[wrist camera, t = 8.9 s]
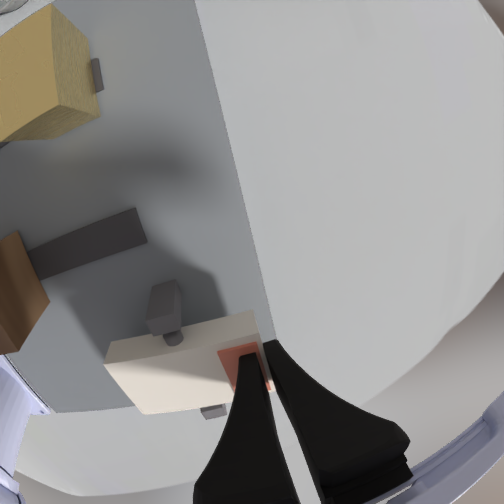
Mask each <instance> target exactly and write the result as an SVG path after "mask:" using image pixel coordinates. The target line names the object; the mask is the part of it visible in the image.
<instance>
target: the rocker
mask: <svg viewBox="0 0 504 504" xmlns="http://www.w3.org/2000/svg"><path fill="white" fill-rule="evenodd" d="M253 352H256V355H257V358H258V361H259V364H260V367H261V370H262V374H263V377H264V380H265V383H266V386H267V389H268V392H269V393H271V392H275V391H276V389H275V386H274V383H273V380H272V376H271V373H270V370H269V366H268V363H267V359H266V356H265V352H264V349H263V344H262V340H261V336H260V333H259V329H258V326H257V322H256V319H255V315H254V311H253V309H252V310H248V311H245V312H241V313H237V314H233V315H229V316H226V317H222V318H218V319H214V320H210V321H205V322H201V323H197V324H193V325H189V326H184V327H181V330H177V331H174V332H170V333H166V334H162V335H158V336H154V337H153V335H152V334H148V335H143V336H138V337H133V338H128V339H122V340H117V341H112V342H111V344H110V346H109V349H108V352H107V355H106V357H105V360H104V363H103V365H104V367H105V368H106V369H107V371H108V372H109V373H110V375H111V376H112V377H113V379H114V380H115V381H116V382H117V384H118V385H119V386H120V387H121V389H122V390H123V391H124V392H125V394H126V395H127V396H128V397H129V398H130V400H131V401H132V402H133V403H134V404H135V405H136V407H137V408H138V409H139V410H140V411H141V412H142V413H143V414H144V415H147V414H158V413H167V412H175V411H182V410H189V409H196V408H202V407H208V406H213V405H219V404H224V403H229V402H233V397H234V393H235V388H236V382H237V375H238V362H239V357H240V356H242V355H246V354H250V353H253Z"/></svg>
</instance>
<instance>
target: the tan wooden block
mask: <svg viewBox="0 0 504 504" xmlns="http://www.w3.org/2000/svg"><path fill="white" fill-rule="evenodd" d="M99 117H101V114H100V109H99V104H98V99H97V94H96V89H95V84H94V78H93V72H92V66H91V59H90V51H89V43H88V38H87V37H86V36H85V35H84V34H83V33H82V32H81V31H80V30H79V29H78V28H77V27H76V26H75V25H73V24H72V23H71V22H70V21H69V20H68V19H67V18H66V17H65V16H64V15H63V14H62V13H61V12H60V11H59V10H58V9H57V8H56V7H55V6H54V5H53V4H52V3H51V4H49V5H47V6H46V7H44V8H42V9H41V10H39V11H37V12H36V13H34V14H33V15H31V16H29V17H28V18H26V19H25V20H23V21H22V22H20V23H19V24H18V25H16V26H15V27H13V28H12V29H11V30H9V31H8V32H7V33H5V34H4V35H3V36H1V37H0V142H8V141H23V140H50V139H55V138H57V137H59V136H61V135H63V134H65V133H67V132H69V131H71V130H73V129H75V128H77V127H79V126H81V125H83V124H85V123H88V122H90V121H92V120H94V119H96V118H99Z"/></svg>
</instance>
